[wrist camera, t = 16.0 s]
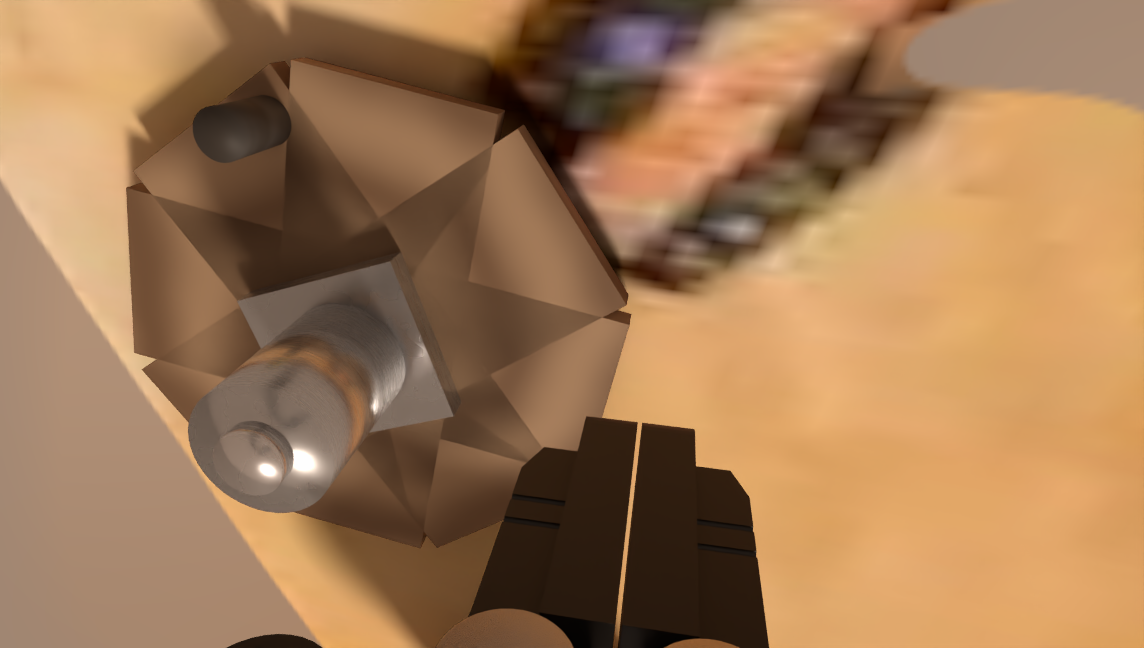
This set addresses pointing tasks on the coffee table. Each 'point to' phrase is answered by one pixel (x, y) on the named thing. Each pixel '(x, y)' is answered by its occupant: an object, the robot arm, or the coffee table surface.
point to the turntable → (371, 230)
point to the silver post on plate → (320, 383)
